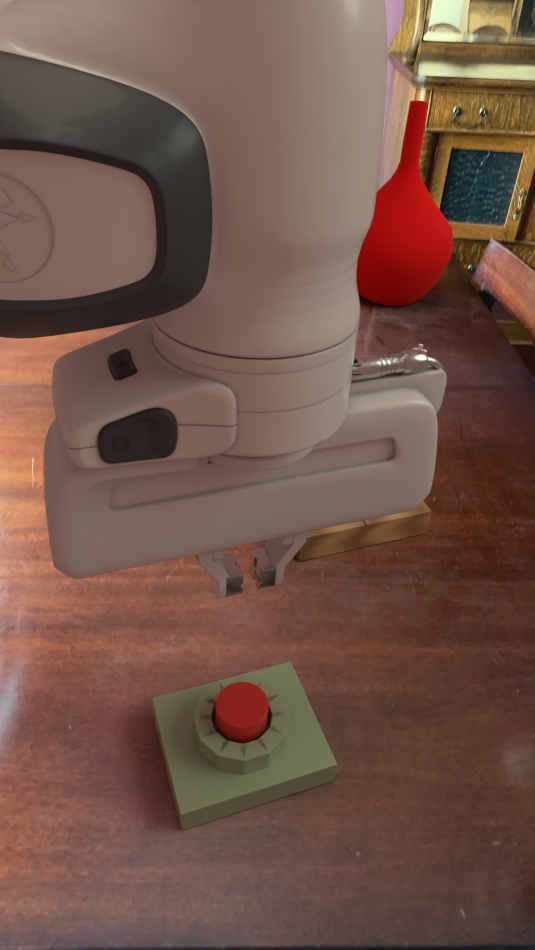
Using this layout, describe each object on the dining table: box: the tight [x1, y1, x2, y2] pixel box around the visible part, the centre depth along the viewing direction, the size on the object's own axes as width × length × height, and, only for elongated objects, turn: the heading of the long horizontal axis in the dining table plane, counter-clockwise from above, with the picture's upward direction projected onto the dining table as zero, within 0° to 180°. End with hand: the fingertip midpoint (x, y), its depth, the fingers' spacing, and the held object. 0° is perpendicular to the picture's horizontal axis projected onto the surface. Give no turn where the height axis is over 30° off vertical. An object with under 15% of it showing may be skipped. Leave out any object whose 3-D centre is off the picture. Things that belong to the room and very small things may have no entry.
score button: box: [216, 682, 268, 742], centre depth 47 cm, size 4×4×2 cm
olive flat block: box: [151, 661, 338, 831], centre depth 48 cm, size 11×9×4 cm
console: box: [294, 500, 432, 562], centre depth 70 cm, size 14×11×3 cm
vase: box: [356, 99, 454, 307], centre depth 109 cm, size 18×18×30 cm
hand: (245, 584), depth 39 cm, fingers closed
